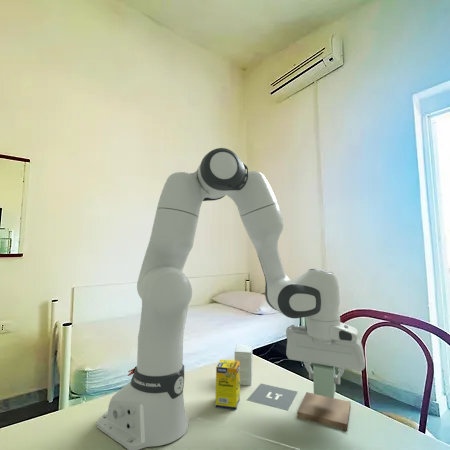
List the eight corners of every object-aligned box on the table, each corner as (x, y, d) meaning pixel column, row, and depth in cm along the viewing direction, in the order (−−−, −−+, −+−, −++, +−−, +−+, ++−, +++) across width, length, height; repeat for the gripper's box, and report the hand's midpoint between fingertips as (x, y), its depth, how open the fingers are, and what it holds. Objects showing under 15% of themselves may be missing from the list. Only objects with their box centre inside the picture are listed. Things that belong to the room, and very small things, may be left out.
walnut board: (297, 417, 76) (297, 411, 77) (306, 397, 87) (306, 392, 87) (347, 430, 71) (347, 424, 71) (350, 407, 82) (350, 401, 82)
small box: (236, 374, 103) (236, 343, 103) (252, 375, 102) (252, 344, 103) (233, 385, 95) (234, 351, 96) (251, 386, 94) (251, 352, 95)
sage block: (313, 393, 79) (313, 366, 79) (316, 386, 83) (316, 360, 84) (333, 398, 76) (332, 370, 77) (335, 389, 81) (334, 363, 81)
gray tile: (246, 400, 85) (246, 399, 85) (260, 384, 96) (260, 383, 96) (287, 411, 80) (287, 410, 80) (297, 392, 90) (297, 391, 90)
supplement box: (236, 410, 80) (237, 368, 81) (215, 408, 81) (215, 366, 82) (240, 399, 85) (240, 360, 86) (219, 397, 87) (220, 359, 88)
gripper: (283, 326, 83) (283, 377, 82) (363, 336, 74) (365, 394, 73) (288, 321, 88) (289, 369, 87) (364, 330, 79) (365, 383, 78)
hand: (324, 380), depth 80 cm, fingers closed on sage block, 5 cm apart
